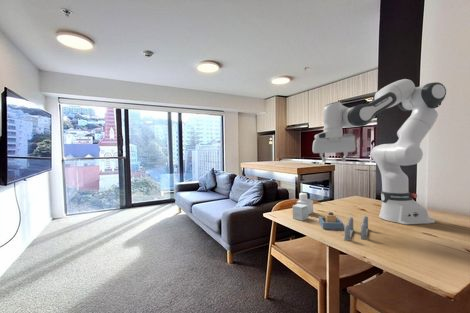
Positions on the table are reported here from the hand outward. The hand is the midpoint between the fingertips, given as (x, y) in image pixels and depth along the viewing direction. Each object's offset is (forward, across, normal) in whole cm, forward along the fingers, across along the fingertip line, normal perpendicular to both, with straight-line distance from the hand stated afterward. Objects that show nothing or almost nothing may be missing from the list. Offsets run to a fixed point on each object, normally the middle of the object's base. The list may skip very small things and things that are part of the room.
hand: (333, 161), depth 112 cm
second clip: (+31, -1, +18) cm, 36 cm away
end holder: (+31, +4, +7) cm, 32 cm away
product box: (+31, +17, -4) cm, 36 cm away
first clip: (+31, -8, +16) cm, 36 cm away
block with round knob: (+30, +4, +7) cm, 32 cm away
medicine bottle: (+31, +13, -15) cm, 37 cm away
